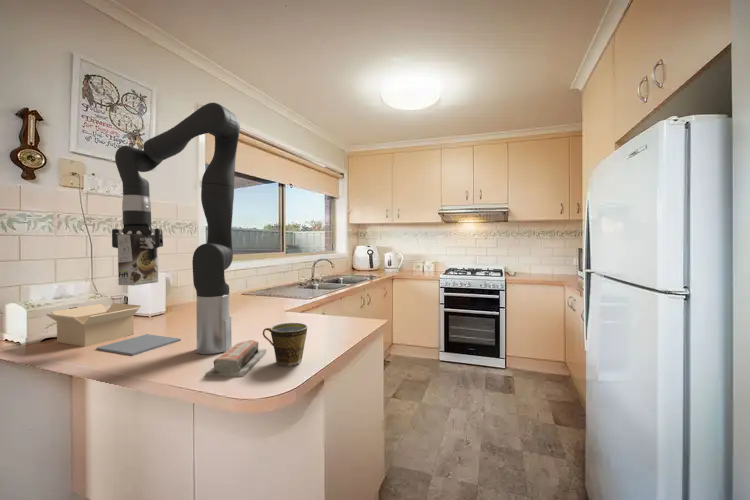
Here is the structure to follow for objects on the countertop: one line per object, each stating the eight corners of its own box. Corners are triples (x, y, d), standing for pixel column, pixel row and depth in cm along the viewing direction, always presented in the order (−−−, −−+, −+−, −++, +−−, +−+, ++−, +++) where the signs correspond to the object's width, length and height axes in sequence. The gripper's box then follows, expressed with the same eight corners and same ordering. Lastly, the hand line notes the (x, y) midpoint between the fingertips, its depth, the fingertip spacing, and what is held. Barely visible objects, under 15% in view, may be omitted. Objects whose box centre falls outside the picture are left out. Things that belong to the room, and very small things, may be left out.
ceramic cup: (312, 357, 96) (312, 323, 96) (298, 370, 87) (298, 332, 86) (271, 354, 99) (271, 321, 99) (253, 366, 89) (253, 330, 89)
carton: (147, 332, 121) (146, 305, 121) (80, 350, 102) (80, 318, 101) (110, 327, 128) (109, 302, 128) (40, 343, 108) (40, 313, 108)
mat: (180, 340, 112) (180, 338, 112) (132, 355, 97) (132, 353, 97) (146, 335, 118) (146, 334, 118) (96, 349, 102) (96, 347, 102)
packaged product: (244, 359, 83) (204, 359, 82) (245, 378, 83) (204, 378, 83) (266, 338, 101) (234, 338, 100) (267, 354, 101) (234, 354, 101)
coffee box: (134, 285, 102) (133, 233, 102) (117, 285, 103) (116, 234, 103) (159, 282, 111) (158, 234, 111) (143, 282, 112) (142, 234, 112)
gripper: (166, 211, 112) (167, 259, 112) (119, 211, 109) (121, 260, 110) (155, 209, 104) (156, 260, 105) (104, 209, 102) (106, 262, 102)
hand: (138, 260), depth 107 cm, fingers closed on coffee box, 7 cm apart
